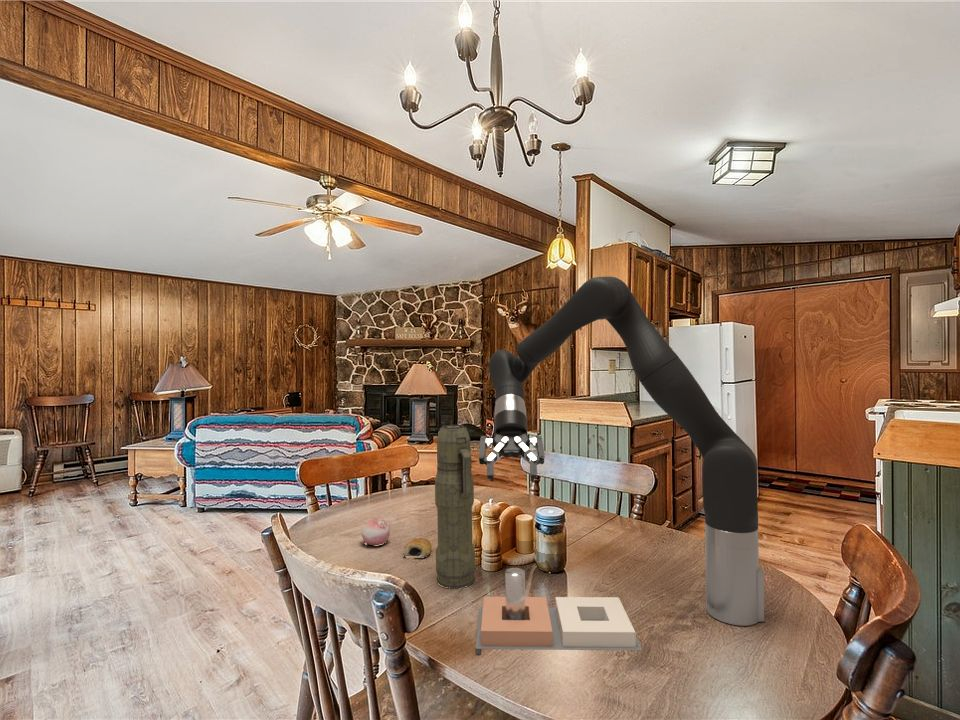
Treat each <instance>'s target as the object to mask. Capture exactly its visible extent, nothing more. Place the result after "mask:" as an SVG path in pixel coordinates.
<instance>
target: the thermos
mask: <svg viewBox="0 0 960 720" xmlns="http://www.w3.org/2000/svg"><path fill="white" fill-rule="evenodd" d="M436 462H437V467H436V468H437V472H436V475H435V478H434V500H435V502H434V504H435V506H436V508H437V509H436V510H437V547H436V550H435V572H436V583H437V582H438V583H439V584H440V585H442V586H444V587H448V588H449V587H450V588H461V587H465V586H468V587H470V586H471V584H472V583H473V582H474V583H475V581H476V578H475V571H476V549H475V547H474V544H473V543H474V542H473V506H474V503H475V498H474V497H475V492H474V491H475V487H474V482H475V481H474V480H475V479H474V478H473V475H472V454H471V437H470V434H469V431H468V429H467V427H466V426H464V425H462V424H448V425H446V424H445V425H443V426H442V427H440V428H439V431H438V435H437V438H436ZM438 583H437V584H438ZM474 583H473V584H474ZM473 584H472V585H473ZM440 585H439V586H440ZM469 585H470V586H469ZM444 587H443V588H444ZM448 588H447V589H448ZM465 588H466V587H465ZM461 589H462V588H461Z"/></svg>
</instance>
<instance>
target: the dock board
mask: <svg viewBox="0 0 960 720" xmlns="http://www.w3.org/2000/svg"><path fill="white" fill-rule="evenodd" d="M482 600H483V601H482V606H479V609H478V617H477V618H478V619H477V629H476V630H477V631H476V641H475V655H482V650H547V651H548V650H549V651H551V650H553V651H555V650H556V651H558V650H560V651H562V650H563V651H565V650H566V651H635V652H636V651H643V648H642V646H641V644H640V642H639V639H638V637H637V635H636V634H637V633H636V631H635V629H634V628H635V627H633V626H634V625H633V624H632V621H631V619H630V618H629V616H628V614H627V612H626V610H625V608H624V606H623V603H622V602H621V600H620V597H615V596H613V597H612V596H611V597H606V596H605V597H604V596H603V597H601V596H599V597H598V596H597V597H595V596H594V597H593V596H592V597H591V596H590V597H589V596H587V597H586V596H585V597H584V596H583V597H582V596H579V597H578V596H555V607H549V605H548V600H547V596H525V620H506V597H505V596H483V599H482Z"/></svg>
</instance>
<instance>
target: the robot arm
mask: <svg viewBox="0 0 960 720" xmlns="http://www.w3.org/2000/svg"><path fill="white" fill-rule="evenodd" d="M598 320H599V321H601V320H606V321H607V322H608V323H609V324H610V325H611V326H612V328H613V329H614V330H615V332H616V333H617V334H618V335H619V337H620V338H621V340H622V341H623V343H624V345H625V348H626V352H627V354H628V357H629V358H628V359H629V361H630V363H631V367H632V369H633V372H634V374H635V376H636V378H637V379H638V381H639V382H640V383H641V386H643V388H644V390H645V391H647V394H648V395H649V396H650V398H651V399H652V401H654V402H655V404H657V405H658V406H659V407H660V408H661V410H662V411H664V413H666V414H667V415H668V416H669V417H670V418H671V419H672V420H673V421H675V422H676V423H677V425H679V426H680V427H681V428H682V429H683V430H684V432H685V433H686V434H687V435H688V437H689V438H690V439H691V441H692V442H693V443H694V445H695V447H696V448H697V451H699V453H700V455H701V457H702V459H703V460H702V469H701V471H702V478H701V479H702V481H701V482H702V506H703V513H704V543H705V544H704V545H705V546H704V548H705V550H704V551H705V552H704V553H705V564H704V565H705V608H706V611H707V614H708V615H710V616H712V618H714V619H716V620H717V621H720V622H722V623H726V624H729V625H733V626H742V627H743V626H744V627H745V626H753V625H755V624H757V623H758V622H765V581H764V580H765V574H764V570H763V569H762V568H761V567H760V566H759V565H760V563H759V562H760V561H759V560H760V559H759V556H760V555H759V551H760V550H759V511H758V510H759V509H758V502H759V501H758V467H759V466H758V459H757V456H756V454H755V453H754V452H753V450H752V449H751V448H750V447H749V446H748V444H747V443H745V441H744V440H743V439H742V438H741V437H740V436H739V435H738V434H737V433H736V432H735V431H734V430H733V429H732V428H731V426H729V424H728V423H726V421H725V420H724V418H722V417H721V415H720V414H719V413H718V412H717V410H716V409H715V407H714V406H713V404H712V403H711V401H710V399H709V398H708V396H707V395H706V393H705V392H704V390H703V388H702V387H701V385H700V384H699V382H698V381H697V379H696V378H695V377H694V375H693V374H692V372H691V371H690V370H689V368H688V367H687V366H686V364H684V362H683V361H682V359H681V358H680V357H679V355H677V353H676V352H675V351H674V350H673V348H672V347H671V346H670V345H669V343H668V342H667V340H665V338H664V337H663V336H662V334H661V333H660V332H659V331H658V330H657V328H656V326H654V325H653V324H652V322H651V321H650V320H649V318H648V317H647V315H646V313H645V312H644V310H643V309H642V307H641V306H640V304H639V302H638V301H637V299H636V297H635V296H634V294H633V292H632V290H631V289H630V287H628V285H627V283H626V282H625V281H623V280H621V279H620V278H618V277H615V276H595V277H592V278H590V279H588V280H586V281H585V282H584V283H583V284H581V286H580V287H579V288H578V289H577V290H576V291H575V292H574V293H573V295H572V296H571V297H570V298H569V299H568V300H567V302H566V303H564V305H563V306H561V307H560V308H559V310H557V312H555V313H554V314H553V315H552V316H551V317H550V318H549V319H548V320H546V321H545V322H544V323H543V324H542V325H540V326H539V327H538V328H536V329H535V330H534V331H532V332H531V333H530V334H528V335H527V336H526V337H524V339H522V340H521V341H520V342H519V343H518V344H517V346H516V353H517V355H515V354H513V353H512V352H510V351H508V350H506V349H498V350H497V351H495V352H494V353H492V355H491V356H490V359H489V363H488V372H489V375H490V376H489V377H490V379H491V382H492V386H493V389H494V391H495V405H494V414H493V415H494V417H493V419H494V427H493V428H494V429H493V431H494V435H493V437H492V438H487V437H486V436H485V435H481V436H480V440H479V448H478V463H479V464H480V465H485V466H486V477H487V479H488V480H490V482H494V479H495V477H494V473H495V472H494V471H495V470H494V468H495V467H494V465H495V464H496V463H497V462H498V461H500V459H501V458H502V457H504V458H511V457H512V458H519V457H521V458H522V459H523V460H524V461H525V462H527V463H528V464H529V475H530V476H529V477H530V482H535V479H537V477H538V465H544V464H545V458H546V457H545V456H546V455H545V448H544V447H545V446H544V443H543V442H544V441H543V437H542V435H537V436H536V437H531V438H530V437H529V435H528V421H527V420H528V417H527V408H526V403H525V390H524V389H525V388H524V385H523V384H524V383H525V382H526V381H527V379H528V378H529V376H530V375H532V372H533V371H534V370H535V369H536V367H537V366H538V365H539V364H540V363H542V362H543V361H544V360H546V359H547V358H548V357H550V356H552V354H554V353H556V351H557V350H559V349H560V348H561V347H562V346H563V345H564V343H566V341H567V340H568V339H569V338H570V337H571V336H572V335H573V334H574V333H575V332H577V331H579V330H580V329H581V328H583V327H585V326H587V325H589V324H592V323H594V322H596V321H598ZM491 445H492V446H493V447H494V448H493V449H492V452H491V453H490V454H489V455H488V456H487V455H486V454H487V453H486V451H487V450H488V449H489V448H490V447H491ZM530 445H532V446H533V448H534V449H536V451H537V455H535V454H534V453H533V452H532V451H531V448H529V447H530Z"/></svg>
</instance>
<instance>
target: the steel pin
mask: <svg viewBox="0 0 960 720" xmlns="http://www.w3.org/2000/svg"><path fill="white" fill-rule="evenodd" d="M504 572H505V573H504V578H505V579H504V581H505V582H504V584H505V586H504V587H505V589H504V590H505V592H504V593H505V596H504V597H506V620H525V597H526V571H525V570H524V569H522V568H519V567H511V568H507V569H506V570H505V571H504Z"/></svg>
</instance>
